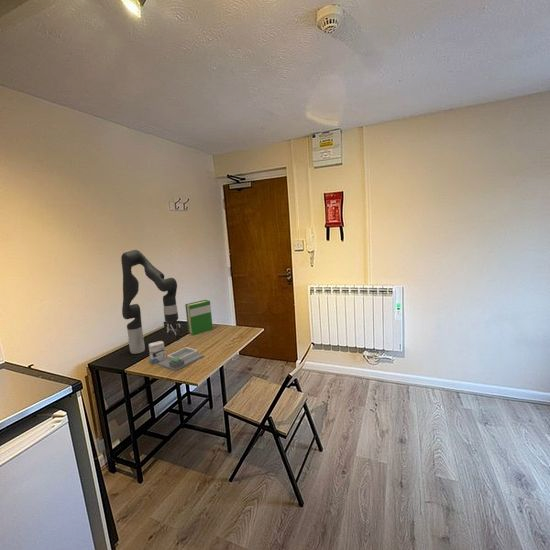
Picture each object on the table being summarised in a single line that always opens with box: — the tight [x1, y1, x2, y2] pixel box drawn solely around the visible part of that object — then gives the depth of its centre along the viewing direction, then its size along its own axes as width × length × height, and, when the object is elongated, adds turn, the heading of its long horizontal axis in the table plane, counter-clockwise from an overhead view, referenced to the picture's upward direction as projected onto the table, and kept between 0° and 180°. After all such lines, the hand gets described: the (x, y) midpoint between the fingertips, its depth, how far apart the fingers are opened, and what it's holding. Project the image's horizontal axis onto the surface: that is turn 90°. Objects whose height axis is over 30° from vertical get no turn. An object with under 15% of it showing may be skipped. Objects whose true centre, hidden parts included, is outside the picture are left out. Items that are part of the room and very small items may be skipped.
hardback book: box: [184, 299, 214, 336], centre depth 241 cm, size 18×7×24 cm, turn 131°
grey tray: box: [157, 346, 205, 372], centre depth 190 cm, size 17×22×4 cm
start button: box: [173, 356, 179, 363], centre depth 182 cm, size 3×3×4 cm
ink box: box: [148, 340, 167, 364], centre depth 192 cm, size 8×5×12 cm, turn 126°
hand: (174, 339), depth 179 cm, fingers open, 6 cm apart
